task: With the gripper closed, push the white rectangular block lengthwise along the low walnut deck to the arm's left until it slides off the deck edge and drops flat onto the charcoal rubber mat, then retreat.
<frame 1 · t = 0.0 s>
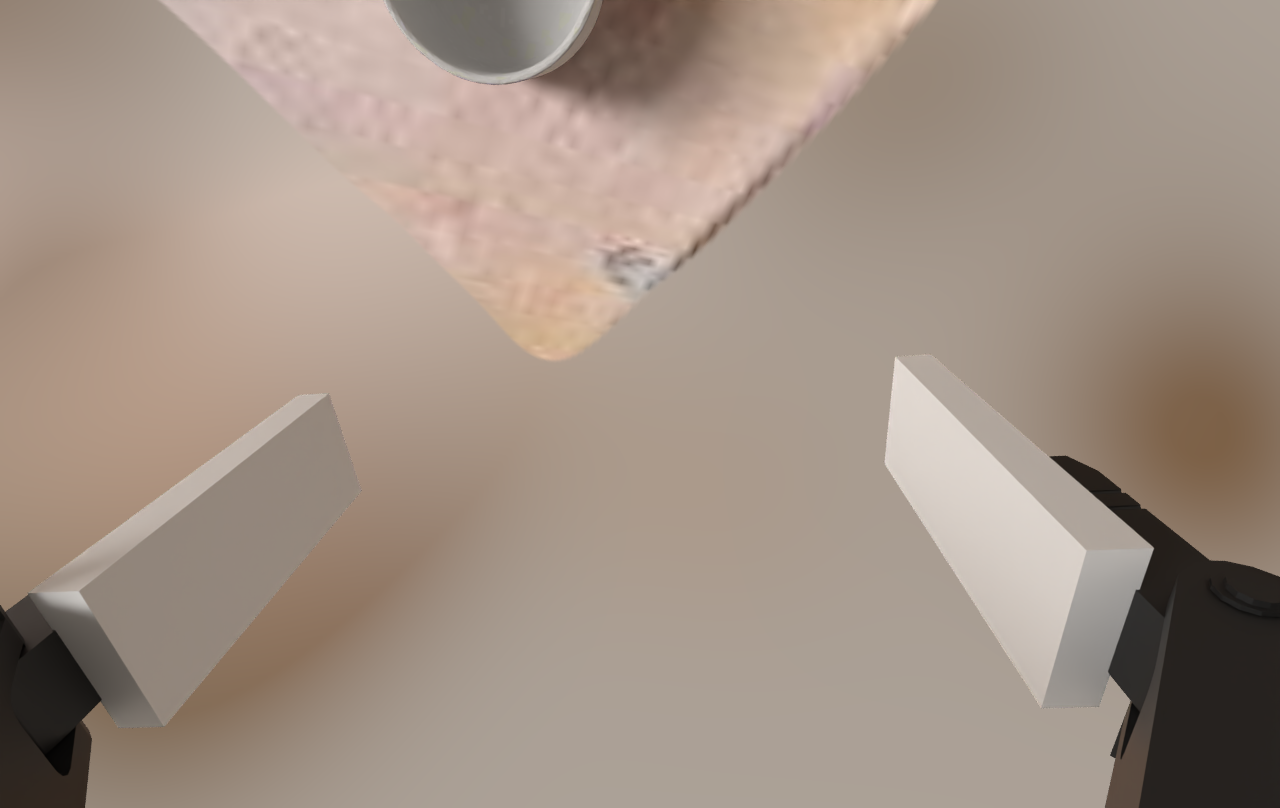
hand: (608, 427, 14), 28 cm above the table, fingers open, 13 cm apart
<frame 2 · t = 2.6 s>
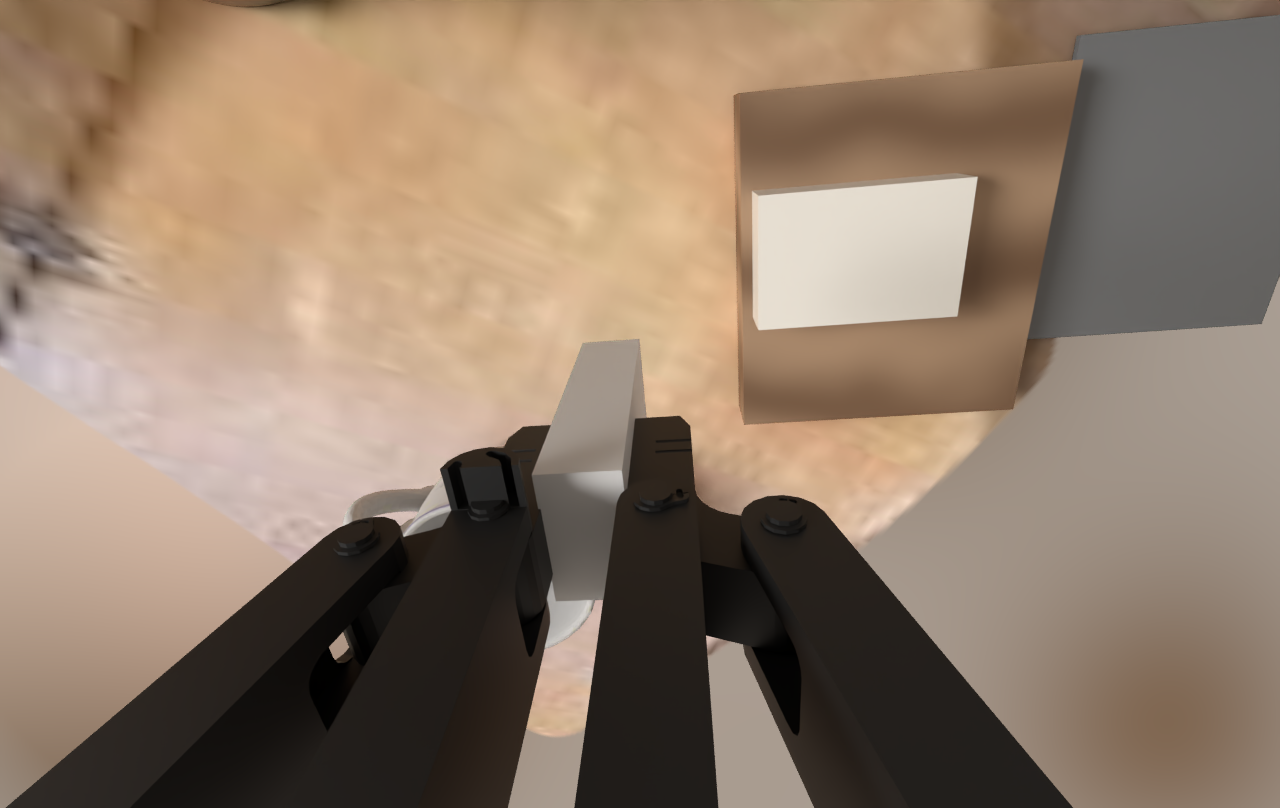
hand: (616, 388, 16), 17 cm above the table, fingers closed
white rectangular block: (848, 249, 28), point 2 cm above the table, touching deck
deck: (873, 256, 31), on the table
mat: (1174, 191, 29), on the table
teacup: (503, 487, 38), on the table
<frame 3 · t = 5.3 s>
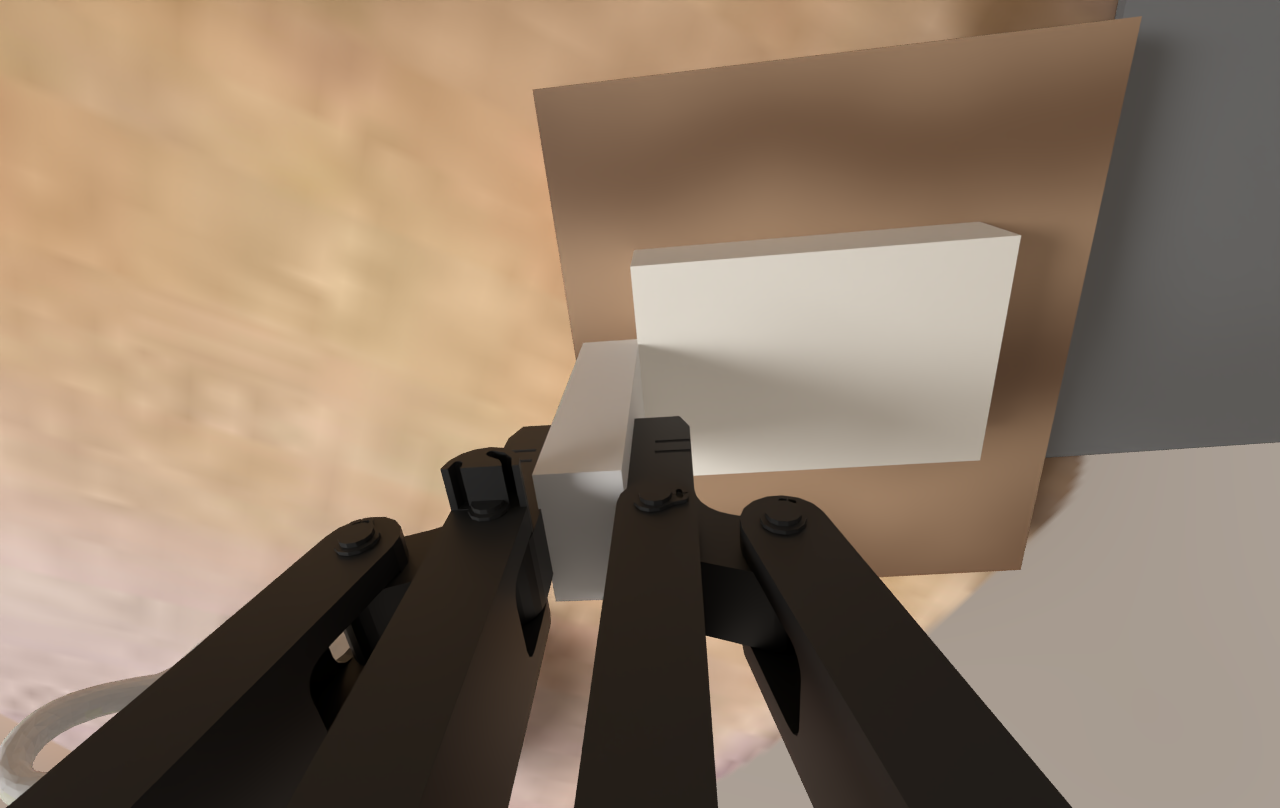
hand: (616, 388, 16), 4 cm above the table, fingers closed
white rectangular block: (800, 343, 17), point 3 cm above the table, touching deck, gripper
deck: (799, 340, 20), on the table
mat: (1278, 236, 18), on the table
teacup: (306, 648, 27), on the table
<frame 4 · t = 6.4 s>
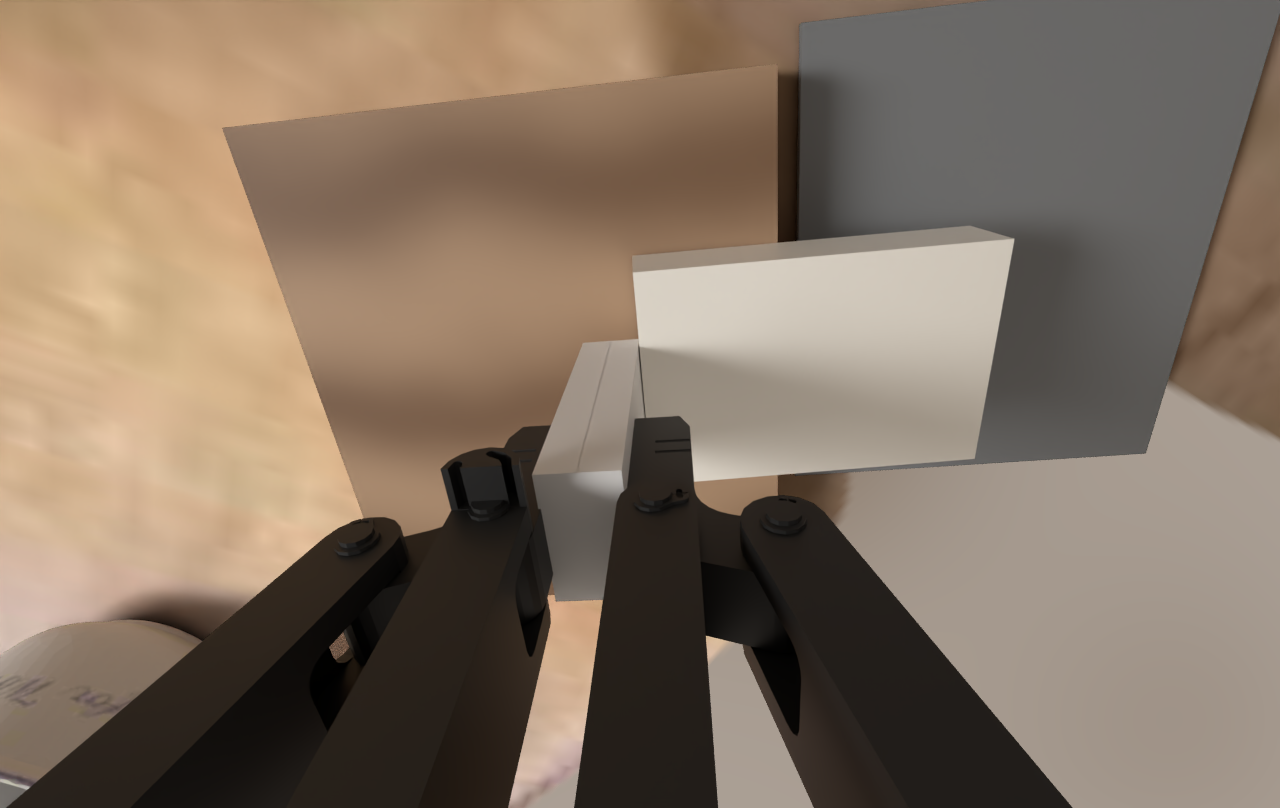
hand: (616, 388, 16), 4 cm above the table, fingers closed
white rectangular block: (796, 346, 17), point 2 cm above the table, touching gripper
deck: (557, 361, 20), on the table
mat: (992, 266, 18), on the table
teacup: (138, 655, 28), on the table
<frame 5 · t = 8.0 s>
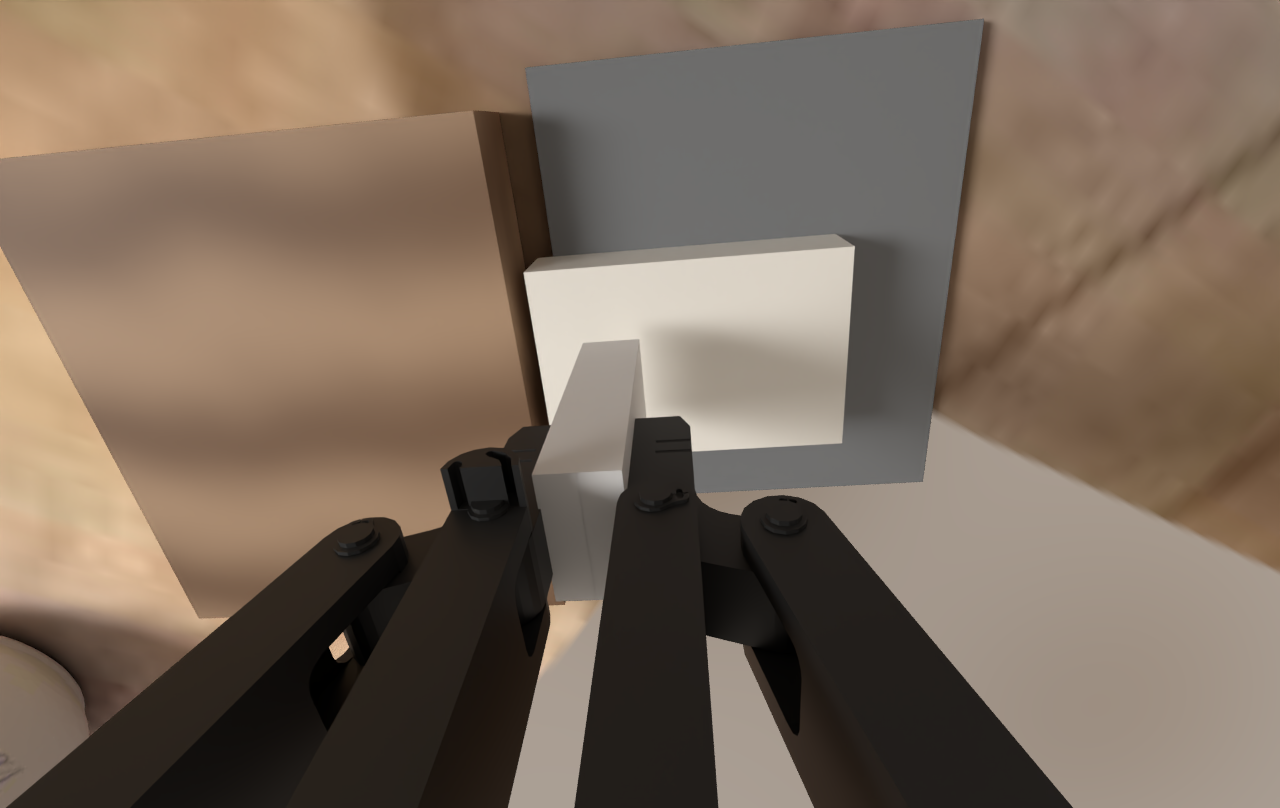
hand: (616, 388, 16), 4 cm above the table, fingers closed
white rectangular block: (688, 340, 19), resting on mat
deck: (346, 385, 21), on the table
mat: (749, 299, 19), on the table
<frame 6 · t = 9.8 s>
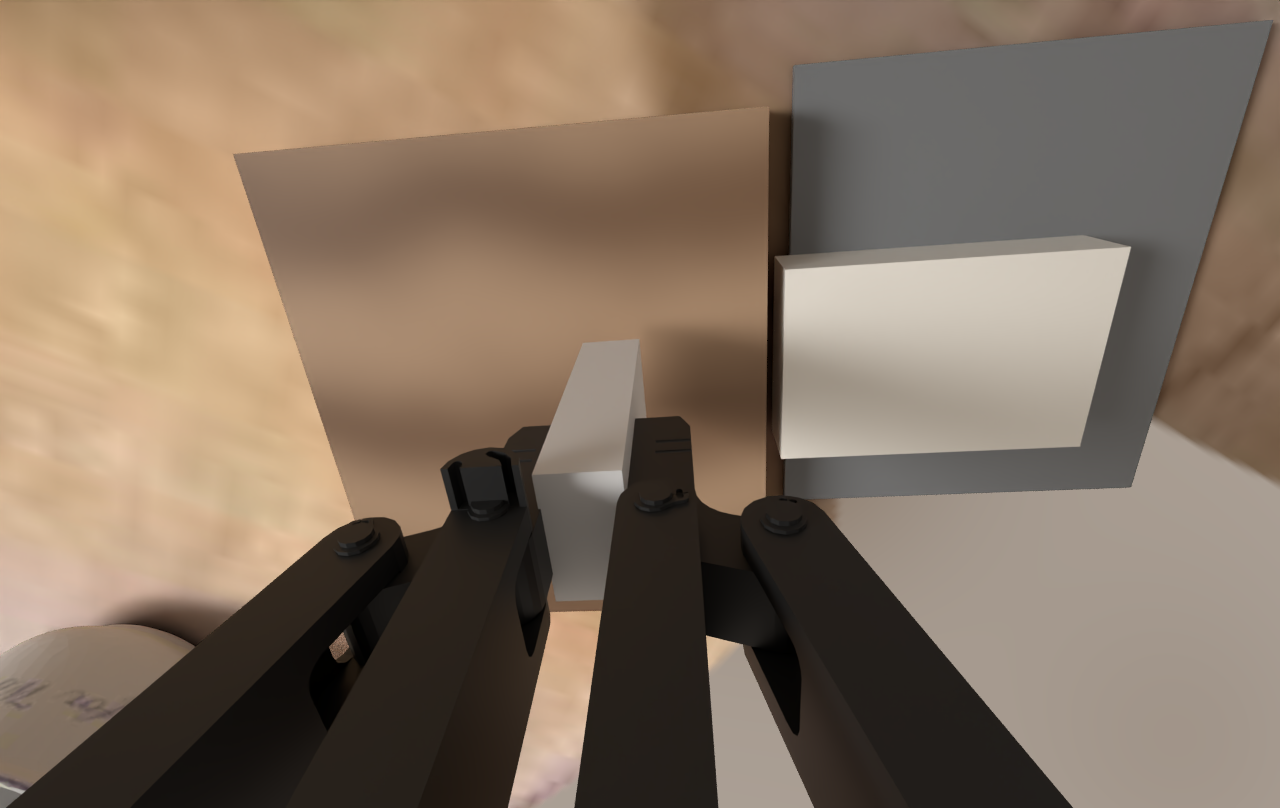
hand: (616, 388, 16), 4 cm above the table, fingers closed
white rectangular block: (914, 340, 19), resting on mat
deck: (552, 383, 21), on the table
mat: (980, 301, 19), on the table
teacup: (133, 660, 28), on the table
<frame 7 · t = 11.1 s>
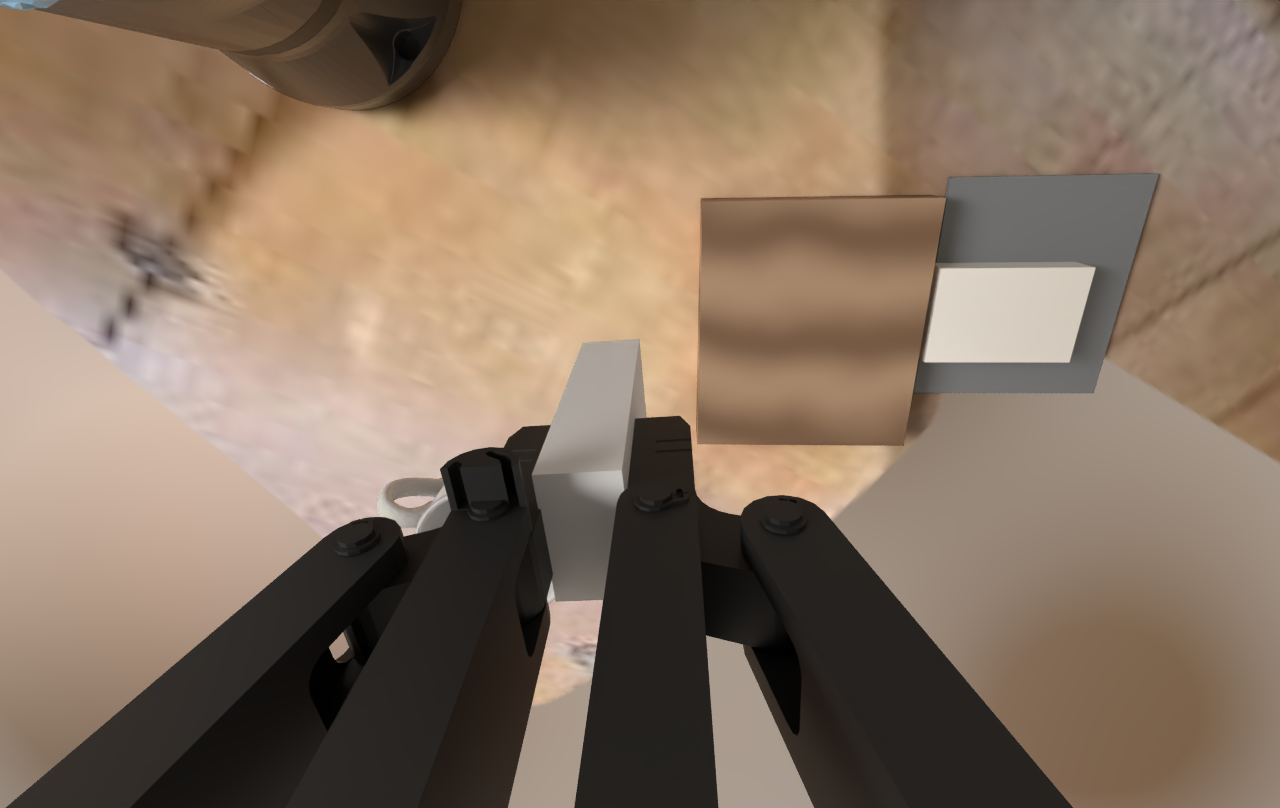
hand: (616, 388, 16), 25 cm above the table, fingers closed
white rectangular block: (991, 308, 39), resting on mat
deck: (802, 322, 40), on the table
mat: (1024, 291, 38), on the table
teacup: (503, 483, 47), on the table
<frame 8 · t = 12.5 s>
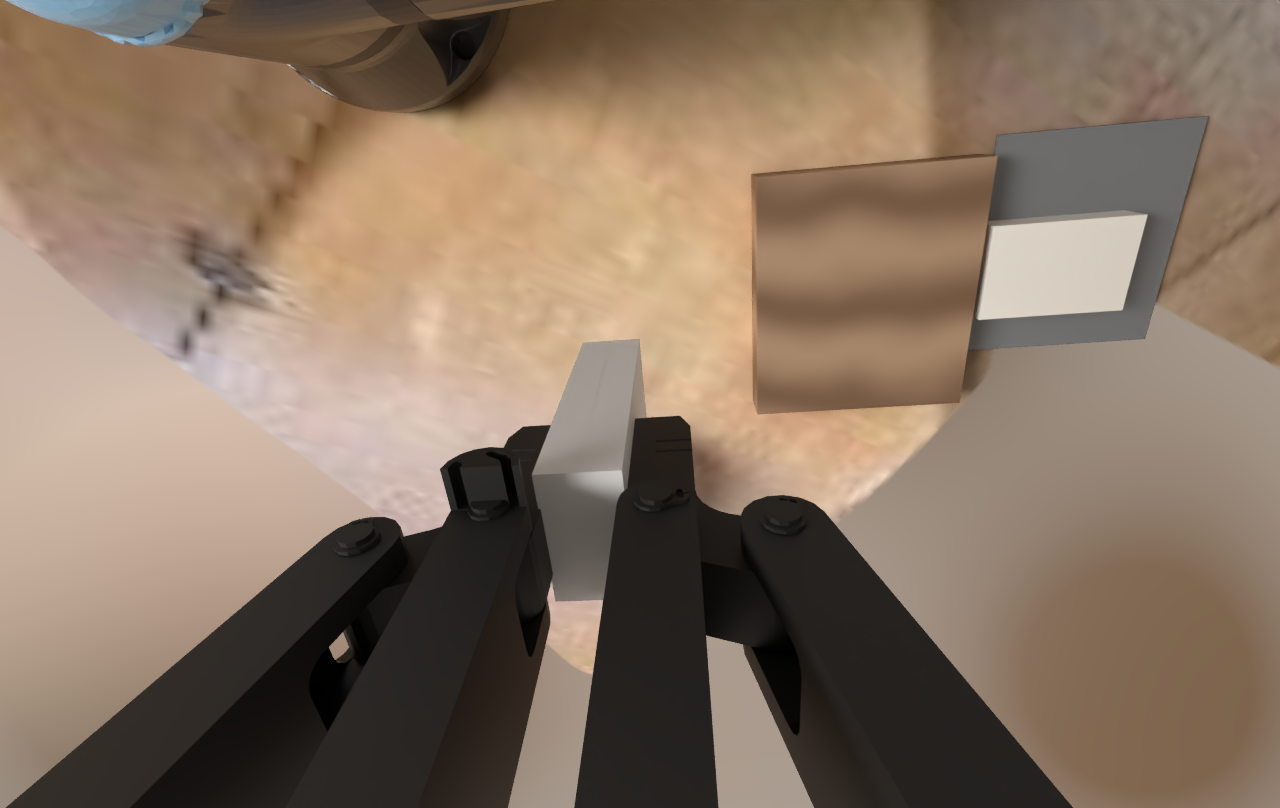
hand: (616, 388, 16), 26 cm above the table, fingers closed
white rectangular block: (1041, 262, 39), resting on mat
deck: (854, 288, 41), on the table
mat: (1073, 242, 39), on the table
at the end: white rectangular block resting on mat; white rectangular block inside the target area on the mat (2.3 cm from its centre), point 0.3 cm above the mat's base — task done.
